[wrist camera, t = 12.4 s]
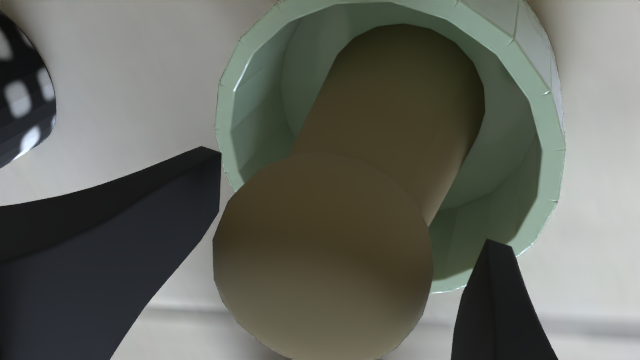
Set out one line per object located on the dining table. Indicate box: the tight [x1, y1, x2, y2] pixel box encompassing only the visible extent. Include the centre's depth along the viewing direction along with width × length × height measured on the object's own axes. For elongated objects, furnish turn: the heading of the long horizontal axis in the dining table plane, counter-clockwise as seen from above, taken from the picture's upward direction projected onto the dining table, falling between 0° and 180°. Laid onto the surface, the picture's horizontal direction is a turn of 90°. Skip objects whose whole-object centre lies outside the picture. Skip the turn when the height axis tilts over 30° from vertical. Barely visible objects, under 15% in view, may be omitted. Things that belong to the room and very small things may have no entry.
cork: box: [213, 23, 485, 360], centre depth 16 cm, size 6×6×11 cm
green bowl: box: [215, 0, 566, 294], centre depth 19 cm, size 11×11×5 cm
